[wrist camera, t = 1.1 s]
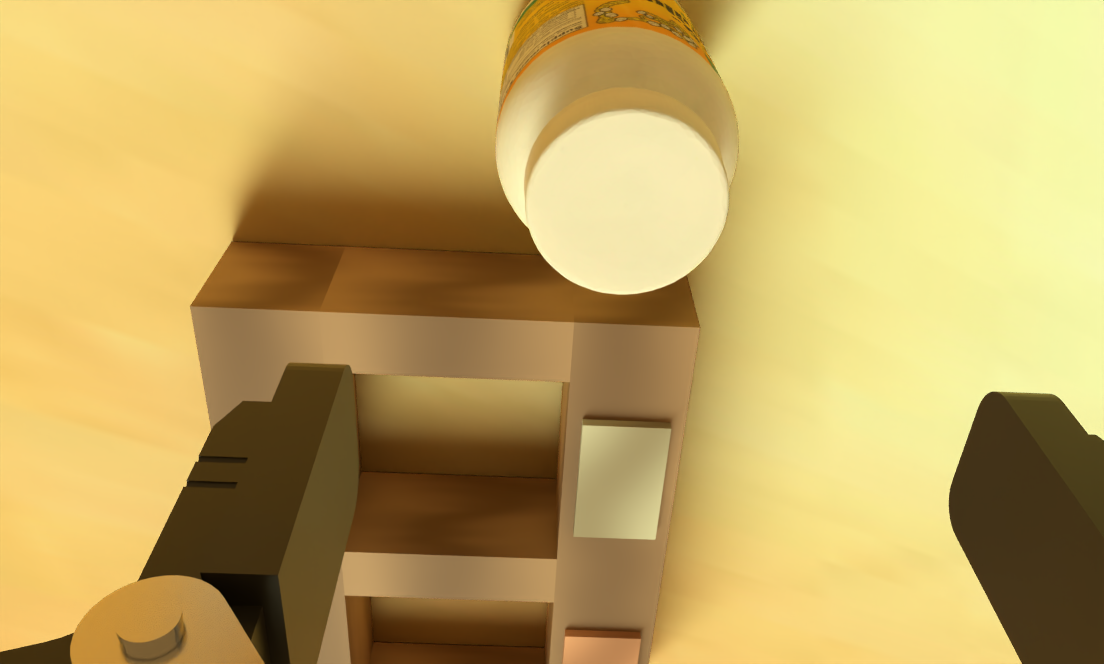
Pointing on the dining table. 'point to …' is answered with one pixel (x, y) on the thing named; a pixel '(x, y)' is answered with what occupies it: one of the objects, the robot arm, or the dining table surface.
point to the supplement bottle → (615, 141)
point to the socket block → (479, 501)
